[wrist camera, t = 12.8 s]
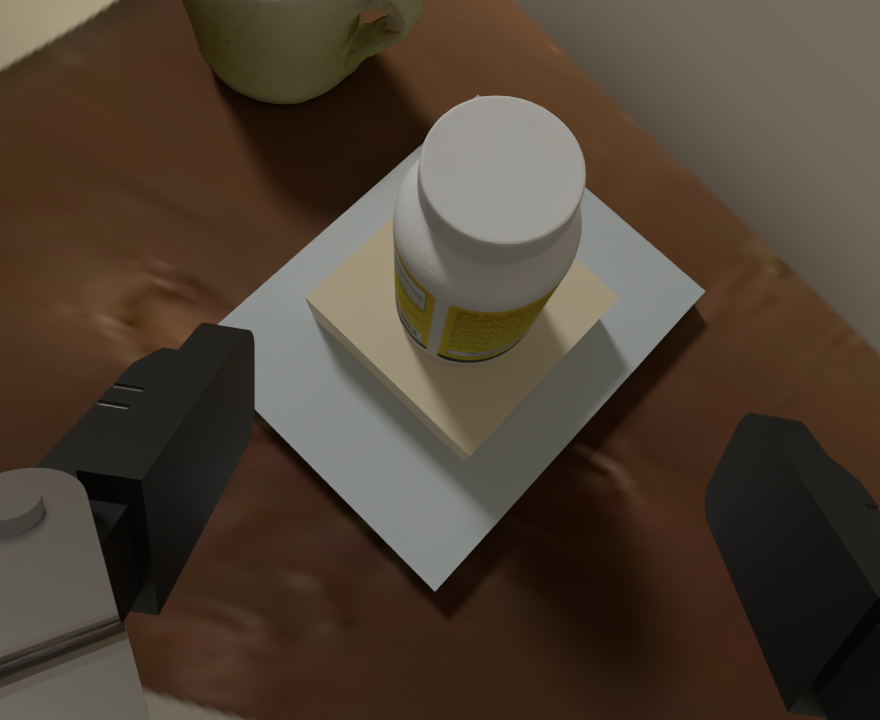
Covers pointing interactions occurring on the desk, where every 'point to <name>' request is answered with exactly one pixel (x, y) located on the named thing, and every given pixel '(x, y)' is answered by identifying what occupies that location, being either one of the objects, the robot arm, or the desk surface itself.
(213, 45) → the mug
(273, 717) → the desk surface
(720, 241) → the desk surface
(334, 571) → the desk surface
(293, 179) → the desk surface
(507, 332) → the pill bottle
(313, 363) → the board
